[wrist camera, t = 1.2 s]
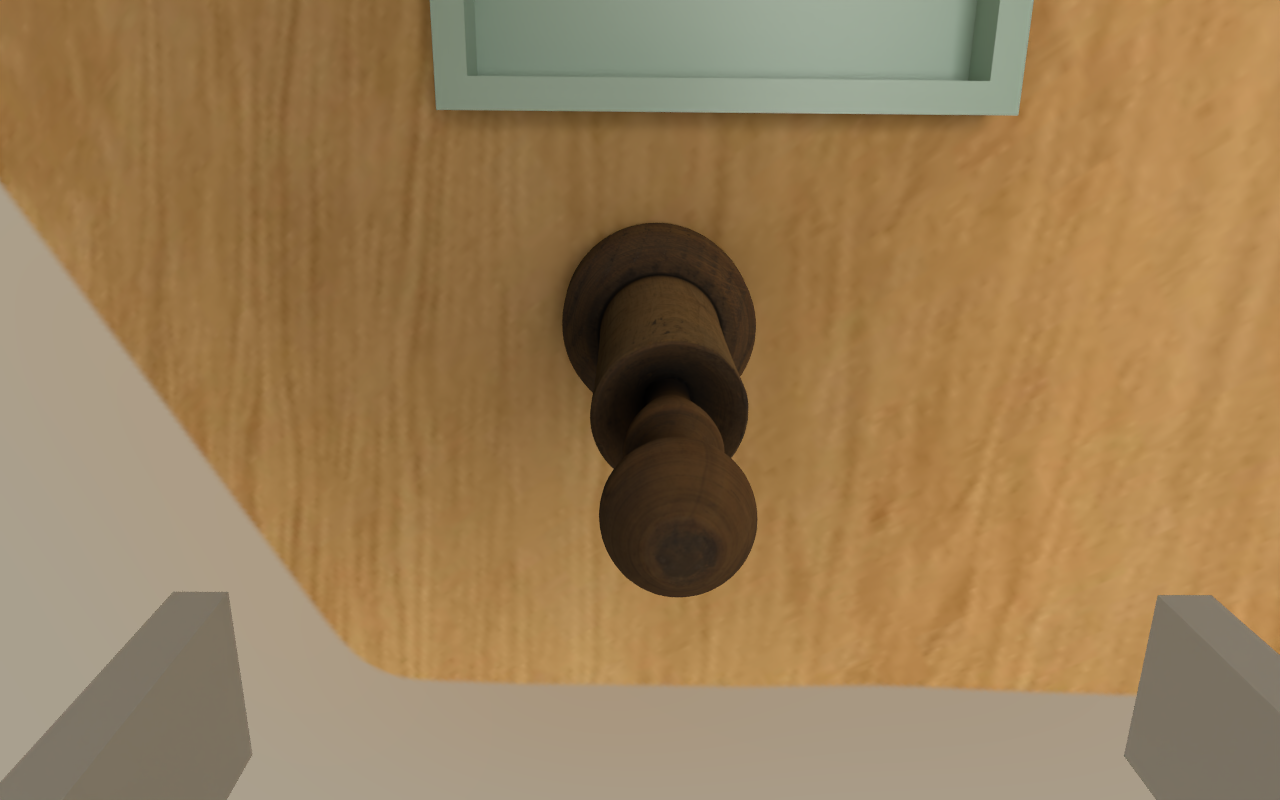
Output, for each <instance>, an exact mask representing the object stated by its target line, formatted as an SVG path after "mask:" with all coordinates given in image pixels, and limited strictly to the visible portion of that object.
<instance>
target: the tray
mask: <svg viewBox="0 0 1280 800" xmlns="http://www.w3.org/2000/svg"><path fill="white" fill-rule="evenodd" d="M1033 1H1034V0H430V12H431V29H432V47H433V64H434V81H435V98H436V110H510V111H613V112H717V113H820V114H923V115H1018V113H1019V105H1020V98H1021V91H1022V83H1023V76H1024V68H1025V61H1026V53H1027V46H1028V38H1029V31H1030V24H1031V16H1032V9H1033Z"/></svg>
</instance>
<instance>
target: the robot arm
mask: <svg viewBox="0 0 1280 800" xmlns="http://www.w3.org/2000/svg"><path fill="white" fill-rule="evenodd" d="M251 756H252V749H251V743H250V736H249V729H248V722H247V715H246V709H245V703H244V696H243V689H242V682H241V675H240V668H239V662H238V655H237V648H236V641H235V635H234V628H233V622H232V615H231V608H230V601H229V594H228V592H173V593H172V594H171V595H170V596H169V597H168V598H167V599H166V600H165V602H164V603H163V604H162V605H161V606H160V607H159V608H158V609H157V610H156V611H155V613H154V614H153V615H152V616H151V617H150V618H149V619H148V620H147V621H146V622H145V624H144V625H143V626H142V627H141V628H140V629H139V630H138V631H137V632H136V634H135V635H134V636H133V637H132V638H131V639H130V640H129V641H128V642H127V643H126V644H125V646H124V647H123V648H122V649H121V650H120V651H119V652H118V653H117V654H116V655H115V657H114V658H113V659H112V660H111V661H110V662H109V663H108V664H107V665H106V667H105V668H104V669H103V670H102V671H101V672H100V673H99V674H98V675H97V676H96V678H95V679H94V680H93V681H92V682H91V683H90V684H89V685H88V686H87V687H86V689H85V690H84V691H83V692H82V693H81V694H80V695H79V696H78V697H77V699H76V700H75V701H74V702H73V703H72V704H71V705H70V706H69V707H68V708H67V709H66V711H65V712H64V713H63V714H62V715H61V716H60V717H59V718H58V719H57V721H56V722H55V723H54V724H53V725H52V726H51V727H50V728H49V730H47V731H46V733H45V734H44V735H43V736H42V737H41V738H40V739H39V740H38V741H37V743H36V744H35V745H34V746H33V747H32V748H31V749H30V750H29V751H28V753H27V754H26V755H25V756H24V757H23V758H22V759H21V760H20V761H19V762H18V764H17V765H16V766H15V767H14V768H13V769H12V770H11V771H10V772H9V773H8V774H7V776H6V777H5V778H4V779H3V780H2V781H1V782H0V800H227V798H228V797H229V795H230V793H231V791H232V789H233V788H234V786H235V784H236V782H237V781H238V779H239V777H240V775H241V774H242V772H243V770H244V768H245V767H246V765H247V763H248V761H249V760H250V758H251ZM1124 757H1125V758H1126V759H1127V761H1128V762H1129V763H1130V765H1131V766H1132V767H1133V769H1134V770H1135V772H1136V773H1137V774H1138V775H1139V777H1140V778H1141V780H1142V781H1143V782H1144V784H1145V785H1146V786H1147V788H1148V789H1149V791H1150V792H1151V793H1152V795H1153V796H1154V797H1155V799H1156V800H1280V655H1279V654H1278V653H1277V652H1275V651H1274V650H1273V649H1272V648H1271V647H1270V646H1269V645H1267V644H1266V643H1265V642H1264V641H1263V640H1262V639H1261V638H1259V637H1258V636H1257V635H1256V634H1255V633H1254V632H1253V631H1251V630H1250V629H1249V628H1248V627H1247V626H1246V625H1245V624H1243V623H1242V622H1241V621H1240V620H1239V619H1238V618H1237V617H1235V616H1234V615H1233V614H1232V613H1231V612H1230V611H1229V610H1227V609H1226V608H1225V607H1224V606H1223V605H1222V604H1221V603H1220V602H1218V601H1217V600H1216V599H1215V598H1214V597H1213V596H1212V595H1158V597H1157V601H1156V606H1155V611H1154V616H1153V620H1152V625H1151V630H1150V635H1149V639H1148V644H1147V649H1146V654H1145V659H1144V663H1143V668H1142V673H1141V678H1140V682H1139V687H1138V692H1137V697H1136V702H1135V706H1134V711H1133V716H1132V721H1131V726H1130V730H1129V735H1128V740H1127V744H1126V749H1125V754H1124Z"/></svg>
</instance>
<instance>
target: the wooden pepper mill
mask: <svg viewBox="0 0 1280 800" xmlns="http://www.w3.org/2000/svg"><path fill="white" fill-rule="evenodd" d="M562 326H563V337H564V343H565V347H566V351H567V354H568V357H569V359H570V361H571V364H572V366H573V368H574V369H575V371H576V373H577V374H578V376H579V377H580V379H581V380H582V381H583V382H584V384H585V385H586V386H587V387H588V388H589V389H590V390H591V391H592V392H593V397H592V403H591V412H590V421H591V429H592V434H593V437H594V440H595V443H596V445H597V447H598V449H599V451H600V453H601V454H602V456H603V457H604V459H605V460H606V461H607V462H608V464H609V465H610V466H611V467H612V468H614V470H613V471H612V473H611V474H610V476H609V478H608V480H607V482H606V484H605V486H604V489H603V493H602V497H601V501H600V510H599V522H600V530H601V535H602V539H603V542H604V545H605V547H606V550H607V552H608V554H609V556H610V557H611V559H612V561H613V562H614V564H615V565H616V566H617V568H618V569H619V570H620V571H621V572H622V573H623V574H624V575H625V576H626V577H627V578H628V579H629V580H630V581H632V582H633V583H634V584H636V585H637V586H639V587H641V588H643V589H645V590H647V591H649V592H652V593H654V594H658V595H662V596H667V597H689V596H695V595H699V594H703V593H706V592H708V591H711V590H713V589H714V588H716V587H718V586H720V585H722V584H723V583H725V582H726V581H727V580H728V579H730V578H731V577H732V576H733V575H734V574H735V573H736V572H737V571H738V570H739V569H740V567H741V566H742V565H743V563H744V562H745V560H746V559H747V557H748V555H749V553H750V551H751V548H752V546H753V543H754V540H755V536H756V530H757V508H756V502H755V497H754V494H753V491H752V488H751V486H750V484H749V481H748V480H747V478H746V476H745V474H744V473H743V472H742V470H741V469H740V467H739V466H738V465H737V464H736V463H735V462H734V461H733V460H732V459H731V457H732V456H733V455H734V453H735V452H736V450H737V448H738V447H739V445H740V443H741V441H742V439H743V436H744V433H745V429H746V425H747V420H748V398H747V394H746V391H745V388H744V385H743V383H742V380H741V378H740V376H741V374H742V373H743V371H744V369H745V367H746V365H747V363H748V361H749V359H750V356H751V353H752V350H753V346H754V341H755V332H756V319H755V311H754V306H753V302H752V299H751V296H750V293H749V291H748V288H747V286H746V284H745V282H744V280H743V278H742V276H741V274H740V272H739V270H738V269H737V267H736V266H735V264H734V263H733V262H732V260H731V259H730V258H729V257H728V256H727V255H726V254H725V253H724V252H723V251H722V250H721V249H720V248H719V247H718V246H717V245H716V244H714V243H713V242H712V241H710V240H709V239H707V238H706V237H704V236H703V235H701V234H699V233H697V232H695V231H692V230H690V229H687V228H684V227H681V226H677V225H672V224H664V223H648V224H641V225H636V226H632V227H628V228H625V229H623V230H620V231H618V232H616V233H614V234H612V235H610V236H608V237H607V238H605V239H604V240H602V241H601V242H599V243H598V244H597V245H596V246H595V247H593V248H592V249H591V250H590V252H589V253H588V254H587V255H586V256H585V257H584V258H583V260H582V261H581V262H580V264H579V265H578V267H577V269H576V270H575V272H574V274H573V276H572V279H571V281H570V284H569V287H568V290H567V294H566V298H565V303H564V309H563V320H562Z"/></svg>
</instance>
